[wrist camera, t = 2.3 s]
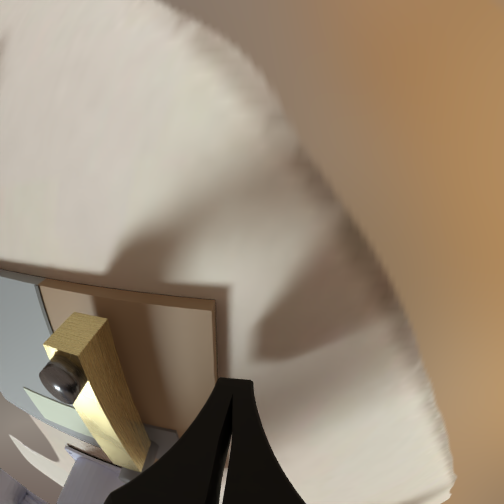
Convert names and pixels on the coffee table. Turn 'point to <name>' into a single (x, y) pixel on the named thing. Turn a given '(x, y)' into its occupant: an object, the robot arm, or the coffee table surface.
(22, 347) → the door board
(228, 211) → the coffee table surface
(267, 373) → the coffee table surface
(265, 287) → the coffee table surface
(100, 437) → the latch bar
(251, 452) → the robot arm
